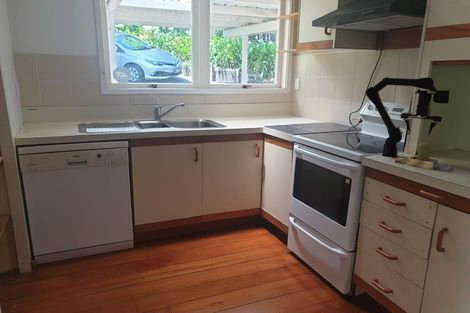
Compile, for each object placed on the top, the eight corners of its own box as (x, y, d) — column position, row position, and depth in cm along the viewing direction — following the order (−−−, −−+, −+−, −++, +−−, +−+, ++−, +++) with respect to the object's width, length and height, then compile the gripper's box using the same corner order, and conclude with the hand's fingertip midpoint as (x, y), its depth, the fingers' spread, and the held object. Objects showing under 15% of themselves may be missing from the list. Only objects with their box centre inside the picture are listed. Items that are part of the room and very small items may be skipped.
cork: (421, 163, 169) (425, 141, 166) (432, 166, 163) (435, 143, 161) (412, 163, 167) (415, 141, 164) (422, 167, 161) (425, 144, 159)
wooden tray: (393, 162, 168) (394, 156, 167) (400, 158, 176) (401, 153, 175) (447, 172, 154) (448, 165, 153) (451, 167, 162) (452, 161, 161)
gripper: (448, 103, 171) (443, 134, 174) (408, 101, 183) (404, 130, 186) (443, 104, 163) (438, 137, 166) (402, 102, 174) (398, 132, 178)
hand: (419, 134), depth 174 cm, fingers open, 9 cm apart
